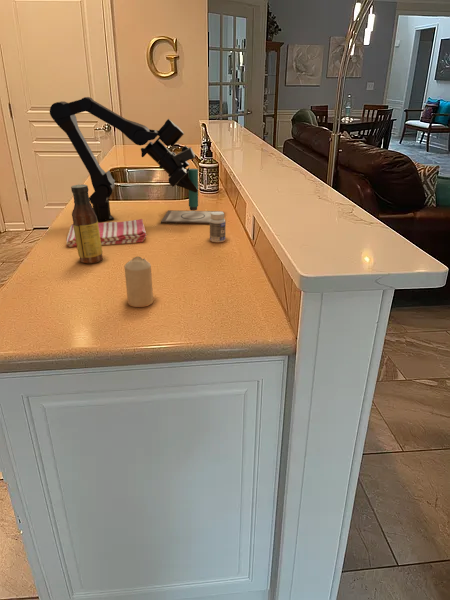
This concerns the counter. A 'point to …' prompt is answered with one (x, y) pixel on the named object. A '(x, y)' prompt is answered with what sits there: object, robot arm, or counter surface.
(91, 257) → the sauce bottle
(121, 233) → the dish towel
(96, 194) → the robot arm
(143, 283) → the candle
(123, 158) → the counter surface
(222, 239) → the pill bottle
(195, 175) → the dot marker
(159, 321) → the counter surface
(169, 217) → the gray flat panel
